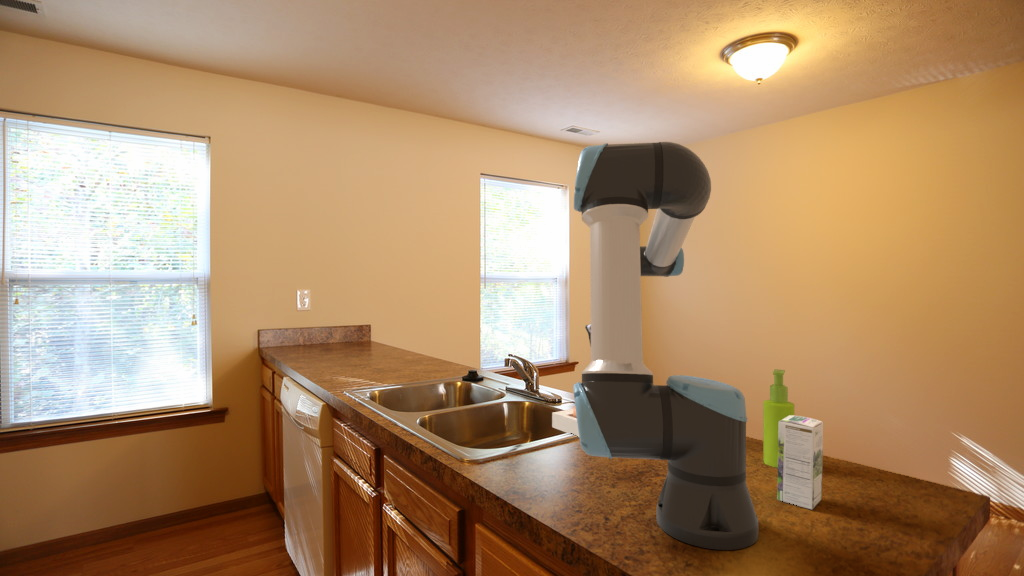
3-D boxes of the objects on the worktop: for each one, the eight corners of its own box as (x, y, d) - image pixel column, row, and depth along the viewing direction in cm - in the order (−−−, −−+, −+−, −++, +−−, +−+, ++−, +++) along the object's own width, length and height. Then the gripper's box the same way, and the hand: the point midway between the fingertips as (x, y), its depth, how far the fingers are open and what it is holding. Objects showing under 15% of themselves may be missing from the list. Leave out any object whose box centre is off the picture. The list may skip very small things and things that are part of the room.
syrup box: (787, 491, 93) (787, 413, 93) (823, 501, 89) (823, 419, 89) (776, 500, 89) (776, 419, 89) (814, 511, 85) (814, 426, 85)
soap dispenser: (795, 460, 109) (795, 369, 109) (793, 470, 103) (793, 374, 103) (765, 455, 112) (765, 367, 112) (761, 465, 106) (761, 371, 106)
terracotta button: (581, 423, 128) (581, 411, 128) (569, 419, 132) (569, 407, 132) (595, 420, 131) (595, 408, 131) (582, 416, 135) (582, 405, 135)
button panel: (588, 440, 124) (588, 424, 124) (552, 427, 135) (552, 412, 135) (657, 423, 138) (657, 409, 138) (619, 413, 150) (619, 399, 150)
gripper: (597, 299, 130) (597, 390, 130) (632, 298, 137) (632, 384, 137) (578, 299, 136) (578, 385, 136) (612, 298, 143) (612, 380, 143)
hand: (605, 385), depth 137 cm, fingers closed
